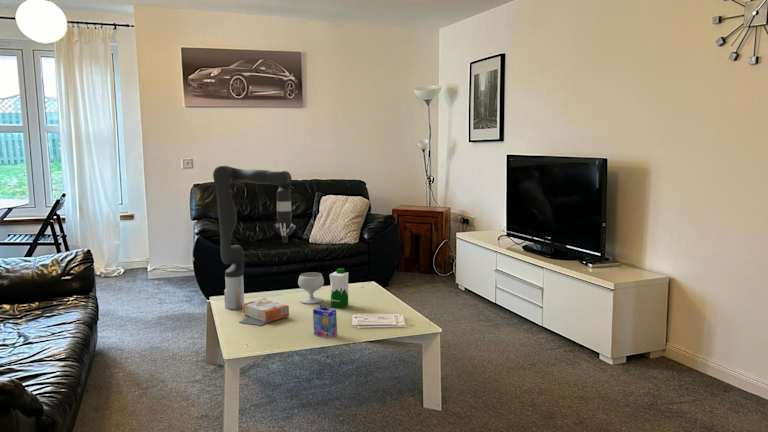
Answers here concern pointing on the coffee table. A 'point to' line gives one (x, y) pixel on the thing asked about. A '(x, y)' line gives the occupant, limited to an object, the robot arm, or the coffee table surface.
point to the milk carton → (339, 289)
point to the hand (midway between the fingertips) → (285, 242)
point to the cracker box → (265, 310)
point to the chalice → (311, 285)
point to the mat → (253, 321)
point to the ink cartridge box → (325, 321)
